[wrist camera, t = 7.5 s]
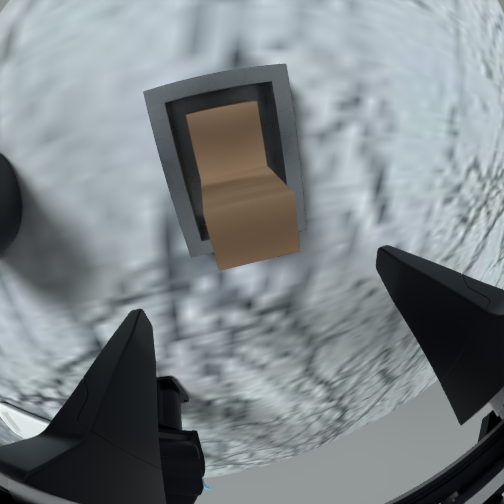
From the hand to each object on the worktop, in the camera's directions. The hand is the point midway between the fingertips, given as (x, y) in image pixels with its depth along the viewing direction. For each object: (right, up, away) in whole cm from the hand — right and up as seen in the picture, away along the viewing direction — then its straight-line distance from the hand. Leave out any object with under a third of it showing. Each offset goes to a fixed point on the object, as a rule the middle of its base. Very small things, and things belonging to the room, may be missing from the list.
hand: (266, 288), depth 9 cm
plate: (-48, -39, +28) cm, 68 cm away
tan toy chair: (-2, +7, +8) cm, 11 cm away
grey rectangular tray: (-2, +8, +8) cm, 11 cm away
